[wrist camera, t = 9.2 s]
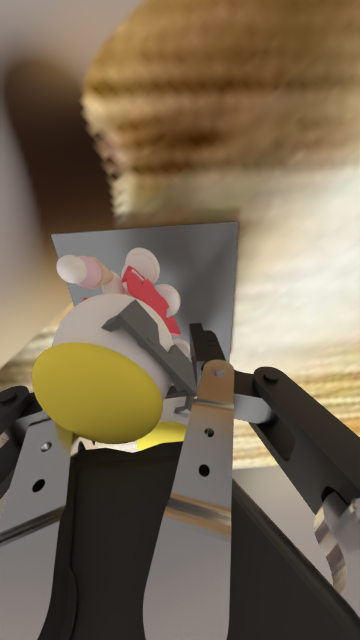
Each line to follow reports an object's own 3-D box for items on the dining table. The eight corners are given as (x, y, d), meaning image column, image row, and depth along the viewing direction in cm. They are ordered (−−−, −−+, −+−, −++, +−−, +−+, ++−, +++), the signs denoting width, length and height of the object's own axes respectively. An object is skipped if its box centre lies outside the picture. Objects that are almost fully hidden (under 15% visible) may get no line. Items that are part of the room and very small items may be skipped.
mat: (234, 221, 14) (238, 222, 13) (226, 359, 20) (228, 366, 19) (58, 233, 14) (50, 234, 13) (100, 369, 20) (97, 376, 19)
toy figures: (211, 380, 16) (249, 523, 9) (159, 395, 17) (153, 543, 9) (152, 219, 11) (117, 240, 3) (76, 249, 11) (-104, 326, 4)
